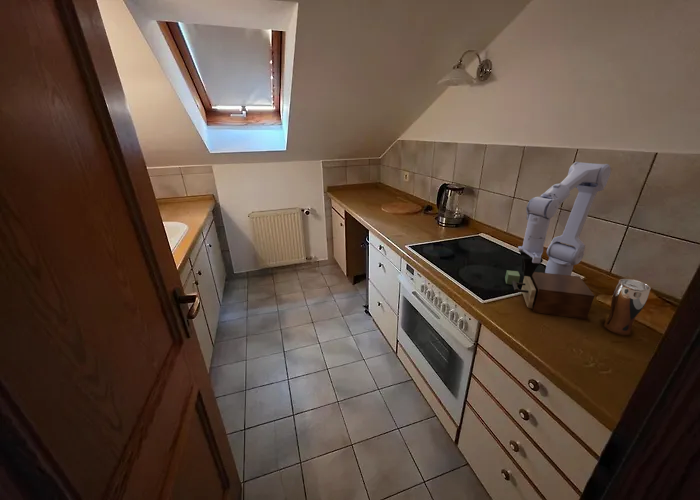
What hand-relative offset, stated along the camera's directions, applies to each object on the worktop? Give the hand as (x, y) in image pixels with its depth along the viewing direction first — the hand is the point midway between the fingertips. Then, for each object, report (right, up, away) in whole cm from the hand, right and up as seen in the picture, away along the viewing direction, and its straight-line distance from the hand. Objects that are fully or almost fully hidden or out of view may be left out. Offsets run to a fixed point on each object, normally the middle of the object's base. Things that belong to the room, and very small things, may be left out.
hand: (526, 273), depth 99 cm
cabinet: (+10, -11, +1) cm, 14 cm away
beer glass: (+20, -16, -11) cm, 28 cm away
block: (+3, -5, +16) cm, 17 cm away
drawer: (+6, -9, +2) cm, 11 cm away
